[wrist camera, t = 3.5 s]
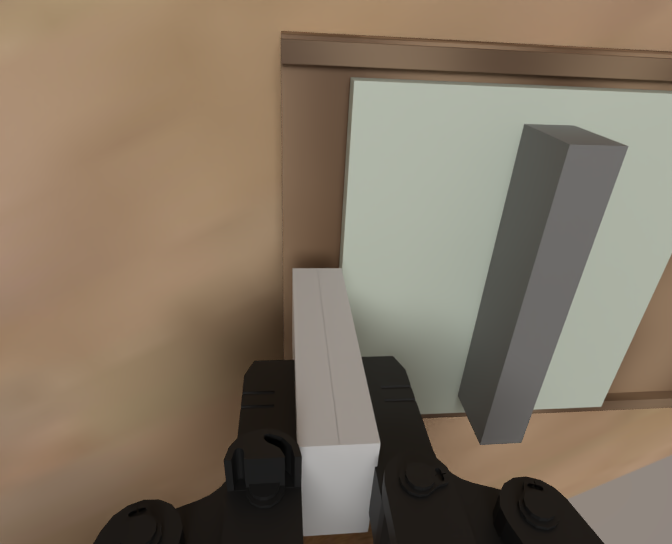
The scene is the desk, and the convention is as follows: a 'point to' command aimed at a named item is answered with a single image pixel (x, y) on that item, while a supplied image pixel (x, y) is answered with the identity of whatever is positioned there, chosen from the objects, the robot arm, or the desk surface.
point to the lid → (504, 238)
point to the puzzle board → (458, 66)
